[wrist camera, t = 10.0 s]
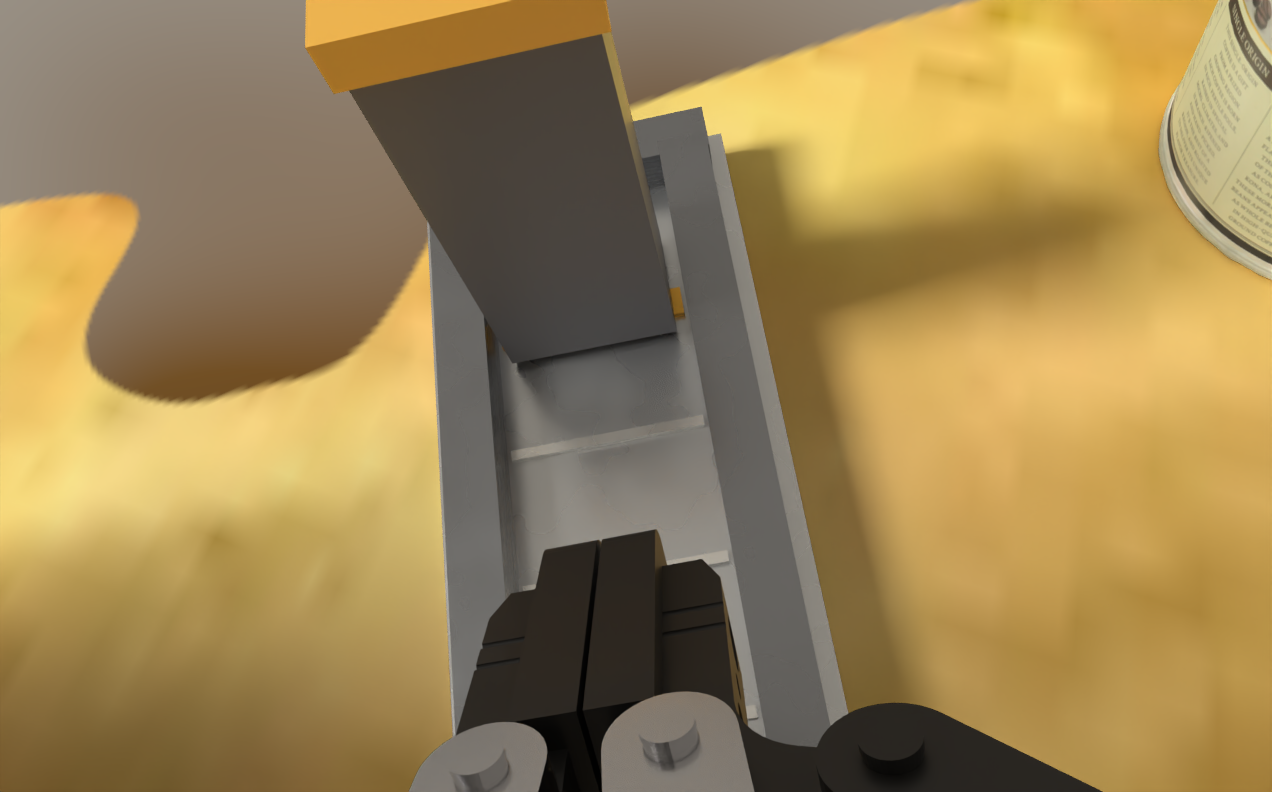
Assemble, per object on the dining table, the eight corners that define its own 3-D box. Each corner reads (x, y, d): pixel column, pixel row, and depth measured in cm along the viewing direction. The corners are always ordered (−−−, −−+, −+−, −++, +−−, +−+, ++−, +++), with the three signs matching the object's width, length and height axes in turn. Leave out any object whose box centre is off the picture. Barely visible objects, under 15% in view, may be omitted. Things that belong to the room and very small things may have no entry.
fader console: (902, 971, 23) (912, 983, 21) (481, 1029, 24) (446, 1047, 21) (723, 153, 33) (716, 102, 31) (435, 213, 34) (409, 168, 32)
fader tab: (685, 337, 29) (599, -20, 17) (506, 372, 30) (305, 47, 18) (665, 226, 31) (575, -167, 19) (497, 260, 31) (307, -102, 20)
